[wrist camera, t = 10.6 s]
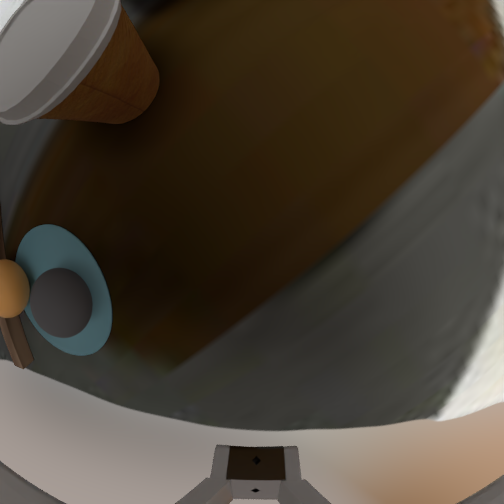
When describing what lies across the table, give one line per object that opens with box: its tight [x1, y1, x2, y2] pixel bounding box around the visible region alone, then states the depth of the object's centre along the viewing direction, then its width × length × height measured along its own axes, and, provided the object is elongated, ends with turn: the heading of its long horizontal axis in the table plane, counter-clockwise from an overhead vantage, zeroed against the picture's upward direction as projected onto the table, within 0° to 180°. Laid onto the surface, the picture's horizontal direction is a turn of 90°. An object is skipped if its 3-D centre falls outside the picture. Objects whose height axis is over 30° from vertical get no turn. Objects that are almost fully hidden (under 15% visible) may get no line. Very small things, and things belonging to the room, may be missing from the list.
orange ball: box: [0, 259, 30, 318], centre depth 19 cm, size 6×6×6 cm
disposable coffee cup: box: [0, 0, 160, 125], centre depth 12 cm, size 10×10×12 cm
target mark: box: [15, 224, 112, 356], centre depth 22 cm, size 14×14×1 cm
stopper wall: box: [0, 206, 34, 369], centre depth 21 cm, size 2×20×2 cm, turn 0°
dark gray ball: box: [30, 268, 93, 338], centre depth 19 cm, size 6×6×6 cm
